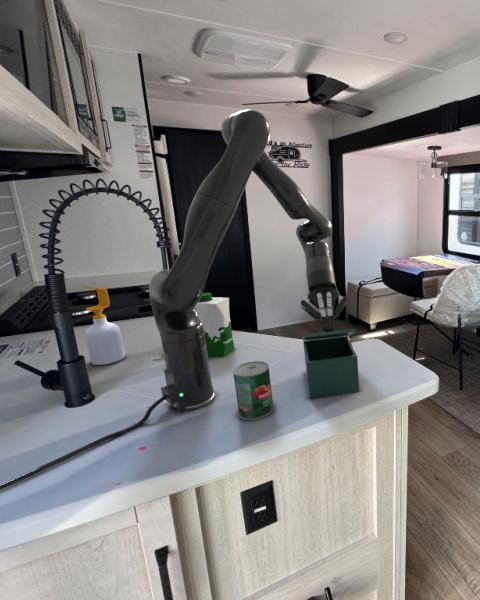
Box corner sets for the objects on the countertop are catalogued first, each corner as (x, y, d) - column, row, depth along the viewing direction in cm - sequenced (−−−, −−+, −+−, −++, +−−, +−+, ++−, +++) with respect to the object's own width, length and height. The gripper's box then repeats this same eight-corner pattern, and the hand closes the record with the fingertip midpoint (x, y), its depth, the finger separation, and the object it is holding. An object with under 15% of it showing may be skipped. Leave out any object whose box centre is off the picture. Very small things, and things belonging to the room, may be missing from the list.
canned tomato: (272, 417, 88) (267, 373, 85) (236, 422, 86) (229, 377, 83) (274, 400, 95) (270, 359, 92) (241, 404, 94) (235, 363, 91)
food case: (359, 391, 98) (357, 356, 96) (309, 398, 95) (306, 362, 93) (349, 367, 113) (347, 335, 110) (306, 372, 110) (303, 340, 108)
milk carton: (214, 347, 132) (206, 290, 127) (239, 347, 131) (231, 291, 126) (199, 357, 124) (189, 297, 119) (224, 358, 122) (215, 297, 117)
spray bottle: (84, 364, 121) (65, 288, 115) (112, 353, 129) (95, 282, 123) (105, 367, 118) (87, 289, 112) (132, 355, 127) (116, 283, 121)
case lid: (356, 331, 95) (355, 328, 95) (304, 337, 92) (303, 334, 92) (347, 335, 110) (347, 332, 110) (303, 340, 107) (302, 337, 107)
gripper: (295, 270, 101) (302, 328, 93) (345, 266, 105) (355, 322, 96) (296, 285, 108) (302, 341, 99) (343, 281, 111) (352, 335, 103)
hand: (328, 331), depth 98 cm, fingers closed
